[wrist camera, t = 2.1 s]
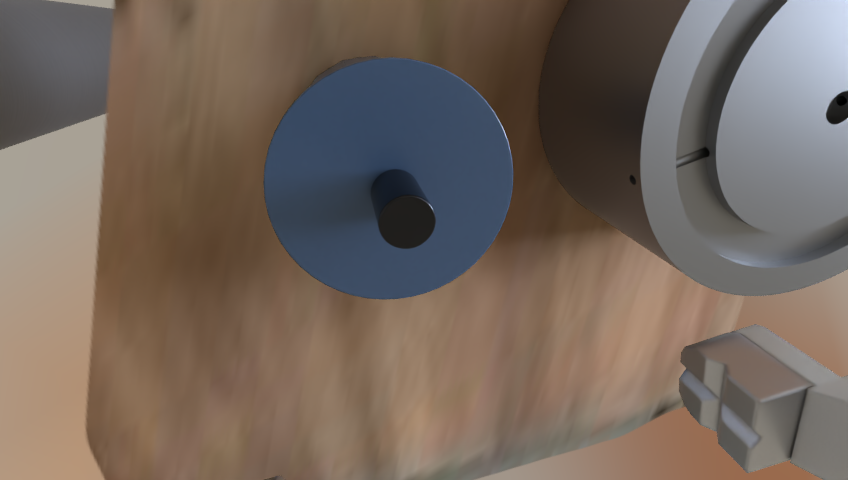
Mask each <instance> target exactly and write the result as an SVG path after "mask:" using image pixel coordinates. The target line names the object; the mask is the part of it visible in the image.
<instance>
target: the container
mask: <svg viewBox="0 0 848 480" xmlns="http://www.w3.org/2000/svg"><path fill="white" fill-rule="evenodd" d="M539 124H540V131H541V137H542V142H543V146H544V149H545V152H546V155H547V158H548V161H549V163H550V165H551V168H552V170H553V172H554V173H555V175H556V177H557V179H558V180H559V182H560V183H561V184H562V186H563V187H564V188H565V190H566V191H567V192H568V193H569V194H570V195H571V196H572V197H573V198H574V199H575V200H576V201H577V202H579V203H580V204H581V205H582V206H584V207H585V208H587V209H588V210H590V211H591V212H593V213H594V214H596V215H597V216H599V217H600V218H602V219H603V220H605V221H606V222H608V223H609V224H611V225H612V226H614V227H615V228H617V229H618V230H620V231H621V232H623V233H624V234H626V235H627V236H629V237H630V238H632V239H633V240H635V241H636V242H638V243H639V244H641V245H642V246H644V247H645V248H647V249H648V250H650V251H651V252H653V253H654V254H656V255H657V256H658V257H660V258H661V259H663V260H664V261H666V262H667V263H669V264H670V265H672V266H673V267H675V268H676V269H678V270H679V271H681V272H682V273H684V274H685V275H687V276H688V277H690V278H691V279H693V280H694V281H696V282H698V283H700V284H702V285H704V286H706V287H708V288H711V289H714V290H716V291H720V292H724V293H728V294H734V295H742V296H764V295H774V294H780V293H785V292H790V291H794V290H798V289H801V288H805V287H808V286H811V285H813V284H816V283H819V282H821V281H824V280H826V279H828V278H831V277H833V276H835V275H837V274H839V273H841V272H843V271H845V270H847V269H848V0H569V1H568V3H567V5H566V7H565V8H564V10H563V12H562V14H561V16H560V18H559V20H558V23H557V25H556V27H555V30H554V32H553V35H552V37H551V40H550V43H549V46H548V49H547V53H546V56H545V60H544V64H543V69H542V74H541V81H540V89H539Z"/></svg>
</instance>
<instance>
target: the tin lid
mask: <svg viewBox="0 0 848 480" xmlns="http://www.w3.org/2000/svg"><path fill="white" fill-rule="evenodd" d="M512 188H513V164H512V155H511V151H510V147H509V142H508V139H507V137H506V134H505V131H504V129H503V126H502V124H501V123H500V121H499V119H498V117H497V115H496V114H495V112H494V111H493V109H492V108H491V107H490V105H489V104H488V103H487V101H486V100H485V99H484V98H483V97H482V96H481V95H480V94H479V93H478V92H477V91H476V90H475V89H474V88H473V87H472V86H470V85H469V84H468V83H466V82H465V81H464V80H462V79H461V78H460V77H458V76H456V75H454V74H453V73H451V72H449V71H447V70H445V69H443V68H440V67H437V66H435V65H432V64H429V63H426V62H422V61H417V60H413V59H407V58H393V57H389V58H374V59H369V60H364V61H359V62H355V63H352V64H350V65H347V66H344V67H341V68H339V69H337V70H335V71H333V72H331V73H329V74H327V75H326V76H324V77H322V78H321V79H319V80H318V81H317V82H315V83H314V84H313V85H311V86H310V87H308V88H307V89H306V90H305V91H304V92H303V93H302V94H301V95H300V96H299V97H298V98H297V99H296V100H295V101H294V103H293V104H292V105H291V107H290V108H289V109H288V110H287V112H286V113H285V114H284V116H283V118H282V120H281V121H280V123H279V125H278V127H277V129H276V131H275V132H274V135H273V138H272V140H271V143H270V146H269V148H268V153H267V157H266V162H265V169H264V195H265V202H266V207H267V211H268V215H269V218H270V221H271V223H272V226H273V229H274V231H275V233H276V235H277V236H278V238H279V240H280V242H281V244H282V245H283V247H284V248H285V249H286V251H287V252H288V253H289V255H290V256H291V257H292V258H293V259H294V260H295V261H296V262H297V263H298V265H299V266H300V267H301V268H303V269H304V270H305V271H306V272H308V273H309V274H310V275H311V276H313V277H314V278H316V279H317V280H319V281H321V282H322V283H324V284H325V285H327V286H330V287H332V288H334V289H336V290H338V291H341V292H344V293H347V294H350V295H353V296H359V297H364V298H371V299H399V298H406V297H412V296H416V295H420V294H423V293H427V292H429V291H432V290H434V289H437V288H439V287H441V286H443V285H445V284H447V283H449V282H451V281H452V280H454V279H455V278H457V277H458V276H460V275H461V274H463V273H464V272H465V271H467V270H468V269H469V268H470V267H471V266H472V265H474V264H475V263H476V262H477V261H478V260H479V258H480V257H481V256H482V255H483V254H484V253H485V252H486V250H487V249H488V248H489V246H490V245H491V244H492V242H493V241H494V239H495V238H496V236H497V234H498V232H499V231H500V229H501V227H502V224H503V222H504V220H505V217H506V215H507V211H508V208H509V204H510V201H511V194H512Z"/></svg>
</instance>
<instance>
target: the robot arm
mask: <svg viewBox="0 0 848 480" xmlns="http://www.w3.org/2000/svg"><path fill="white" fill-rule="evenodd" d="M680 362H681V363H682V364H683V365H684V366H685V367H686V370H685V371H684V373H683V374H682V376H681V377H680V378H679V392H680V394H681V397H682V400H683V402H684V405H685V406H686V408H687V409H688V411H689V412H690V414H691V415H692V416H693V417H694V418H695V419H696V420H697V421H698V423H699V424H700V425H702V426H705V427H707V428H709V429H712V430H714V431H716V432H717V437H718V443H719V445H720V446H721V447H722V448H723V449H724V450H725V451H726V452H727V453H728V454H729V455H730V456H731V457H732V458H733V459H734V460H735V461H736V462H737V463H738V464H739V465H740V466H741V467H742V468H743V469H744V470H745V471H746V472H747V473H749V472H753V471H756V470H759V469H762V468H765V467H768V466H772V465H775V464H778V463H782V462H785V461H788V460H791V461H790V463H792V464H794V465H796V466H798V467H800V468H802V469H804V470H806V471H808V472H809V473H811V474H814V475H815V476H817V477H819V478H821V479H823V480H848V376H844V377H840V376H838V375H837V374H835V373H834V372H832V371H831V370H829V369H828V368H826V367H825V366H823V365H821V364H820V363H818V362H817V361H815V360H814V359H812V358H811V357H809V356H808V355H806V354H805V353H803V352H802V351H800V350H799V349H797V348H796V347H794V346H793V345H791V344H790V343H788V342H786V341H785V340H784V339H782V338H781V337H779V336H778V335H776V334H775V333H773V332H772V331H770V330H768V329H767V328H765V327H763V326H760V325H756V324H754V325H751V326H748V327H745V328H742V329H739V330H736V331H732V332H730V333H725V334H722V335H719V336H716V337H713V338H710V339H707V340H704V341H701V342H698V343H695V344H692V345H689V346H686V347H685V348H684V349H683V351H682V352H681V361H680ZM265 480H284V478H283V476H276V477H272V478H269V479H265Z"/></svg>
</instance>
